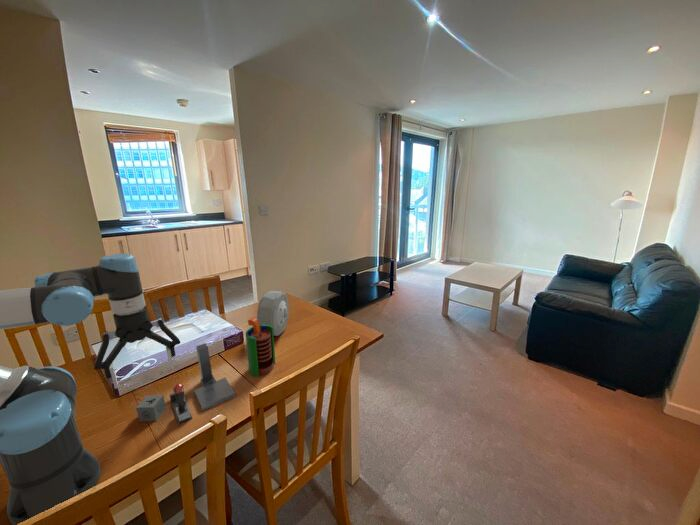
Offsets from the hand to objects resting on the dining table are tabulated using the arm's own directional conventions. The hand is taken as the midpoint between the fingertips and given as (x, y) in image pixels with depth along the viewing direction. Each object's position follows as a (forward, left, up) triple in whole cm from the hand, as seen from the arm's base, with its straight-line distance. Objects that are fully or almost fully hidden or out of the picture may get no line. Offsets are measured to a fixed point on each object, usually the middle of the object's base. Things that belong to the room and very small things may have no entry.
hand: (145, 375), depth 87 cm
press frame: (+13, -2, -13) cm, 19 cm away
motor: (+35, 0, -14) cm, 37 cm away
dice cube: (0, -1, -14) cm, 14 cm away
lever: (+7, -8, -13) cm, 17 cm away
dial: (+51, +21, -14) cm, 57 cm away
